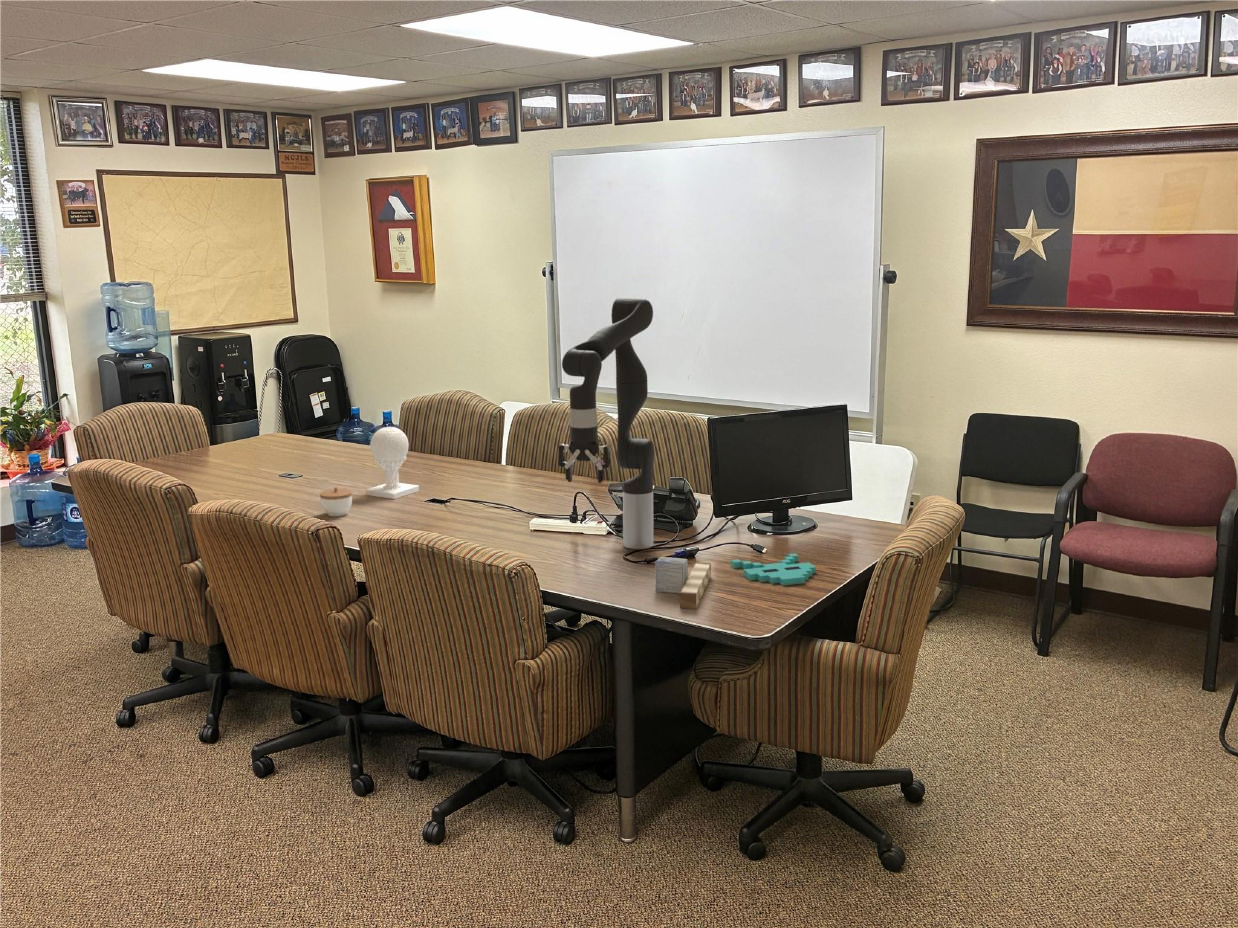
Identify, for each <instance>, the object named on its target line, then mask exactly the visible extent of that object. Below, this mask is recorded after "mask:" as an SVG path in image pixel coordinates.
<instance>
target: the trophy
mask: <svg viewBox="0 0 1238 928" xmlns="http://www.w3.org/2000/svg"><path fill="white" fill-rule="evenodd" d="M369 445H370V451H371V454H372V456H373V458H374V461H375V463H376V464H378V465H379V467H380V468H381V469H383V470H384V482H385V483H383V484H379V485H376V486H374V487H370V488H367V489H365V494H366V496H371V497H378V498H385V499H391V500H396V499H399V498H402V497H405V496H408V495H411V494H414V493H417V492H419V491H420V485H418V484H417V485H416V484H409V483H401V482H400V480H399V479H400V478H399V469H400V467H402V465H403V464H404V462H405V461H406V460H407V459H408V457H407V454H408V451H409V447H410V446H409V445H410V443H409V439H408V437H407V435H406V434H405V432H403V430H401V429H399V428H397V427H394V426H384V427H381V428H379V429H378V430H377V431H375V433H374V434H373V435H372V436H371V439H370V444H369Z"/></svg>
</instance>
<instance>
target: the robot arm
mask: <svg viewBox="0 0 1238 928" xmlns="http://www.w3.org/2000/svg"><path fill="white" fill-rule="evenodd" d="M653 317H654V309H653V305H652V303H651V302H650V301H649V300H647V299H645V298H642V297H641V298H640V297H617V298H616V299H615V300H614V301H613V303H612V306H611V324H609V325H607V326H603V327H602V328H600V329H599V330H597V331H596V332H594V334H593V335H592V336H590V337H589V338H588V340H586V341H584V342H581V343H579V344H577V345H575V346H573V347H570V349H568V350H567V351H566V352H565V353H564V355H563V357H562V359H561V368H562V370H563V372H564V373H565V374H566V375H568V376H570V377H581V378H584V380H583V383H581V384H577V385H573V386H572V387H570V390H569V407H570V408H569V419H568V420H569V421H568V422H569V423H568V424H569V444H565V443H561V444H560V445H559V446H558V455H557V456H558V457H557V458H558V460H557V465H558V467H563V468H564V469H565V480H566V481H567V482H568V483H571V482H572V481H573V467H572V465H573V464H574V462H575V461H578V462H583V461H585V462H592V464H594V465H595V466H596V467H597V483H598V484H601V483H603V481H604V480H605V469H608V468H610V467H611V465H612V461H611V447H610V445H609V444H605V445H600V444H599V442H598V441H599V438H598V437H599V434H598V433H599V432H598V429H599V428H598V411H597V397H596V396H597V388H598V385H599V379H600V375H601V371H602V366H603V365H602V362H603V361H605V360H606V359H607V358H608V357H609V356H610V355H611V354H613V352H615V382H616V383H615V388H616V389H615V391H616V401H617V402H616V403H617V404H616V405H617V439H616V441H617V442H616V459H617V464H618V466H619V468H621V469H626V470H627V469H628V470H640V471H641V472H640V474H639V475H637V476H634V477H631V478H628V479H626V480H624V481H623V483H622V531H623V532H622V535H623V536H622V537H623V539H622V541H623V545H622V546H623V547H624V548H626V549H631V550H645V549H650V548H652V547H653V546H654V470H655V469H654V468H655V467H654V464H655V445H654V442H653V440H652V439H649V438H632V437H631V435H630V434H631V428H632V425H633V423H634V421H635V418H636V417H637V416H638V413H639V412H640V410H641V409H642V408H643V406H644V404H645V403H646V401H647V398H648V395H649V394H648V393H649V392H648V373H647V371H646V368H645V366H644V364H643V363H642V361H641V359H640V357H639V356H638V355H637V353H636V351H635V349H634V347H633V344H632V341H631V339H632V338H634V337H635V336H637V335H638V334H640V333H642V332H644V331H645V330H647V329H648V328H649V327H650V325H651V324H652V321H653V319H654V318H653ZM568 451H569V452H570V453H571V457H570V458H569V459H568V460H567V461H565V460H566V453H567V452H568ZM598 452H601V454H603V461H604V462H603V461H602V459H601V457H600V456H599V455H598Z"/></svg>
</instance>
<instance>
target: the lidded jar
mask: <svg viewBox="0 0 1238 928" xmlns="http://www.w3.org/2000/svg"><path fill="white" fill-rule="evenodd" d="M319 497H320V498H319V499H320V503H321V507H322V510H323V511H324V512H325V513H326V514H327V515H328V516H329V517H342V516H346V515H347V514H348V512H349V511H350V509H351V508H352V504H353V491H352V489H347V488H338V487H334V488H331V489H327V490H324V491H321V492H320V493H319Z"/></svg>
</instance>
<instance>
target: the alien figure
mask: <svg viewBox="0 0 1238 928" xmlns="http://www.w3.org/2000/svg"><path fill="white" fill-rule="evenodd" d="M783 557H784V558H783V559H781V560H780V562H776V563H766V564H762V563H761V562H760V561H759V562H751V561H750V560H745V561H741V560H740V559H731V561H730V566H731V567H732V568H733V569H740V568H742V570H743V572H742V573H743V574H742V575H743V577H745V578H746V579H747V580H748V581H755V580H757V581H758V582H760V583H763V582H765V583H767V582H768V583H770V584H771V585H772V584H780V585H781V587H783V586H791V585H799V584H805V583H806V580H807V581H808V580H809V577H810V578H811V577H813V574H816V573H817V567H816V566H815V565H813V564H812V563H810V562H809V561H808V562H799V555H798V554H797V553H789V554H787V556H783ZM796 562H799V563H796Z"/></svg>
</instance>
